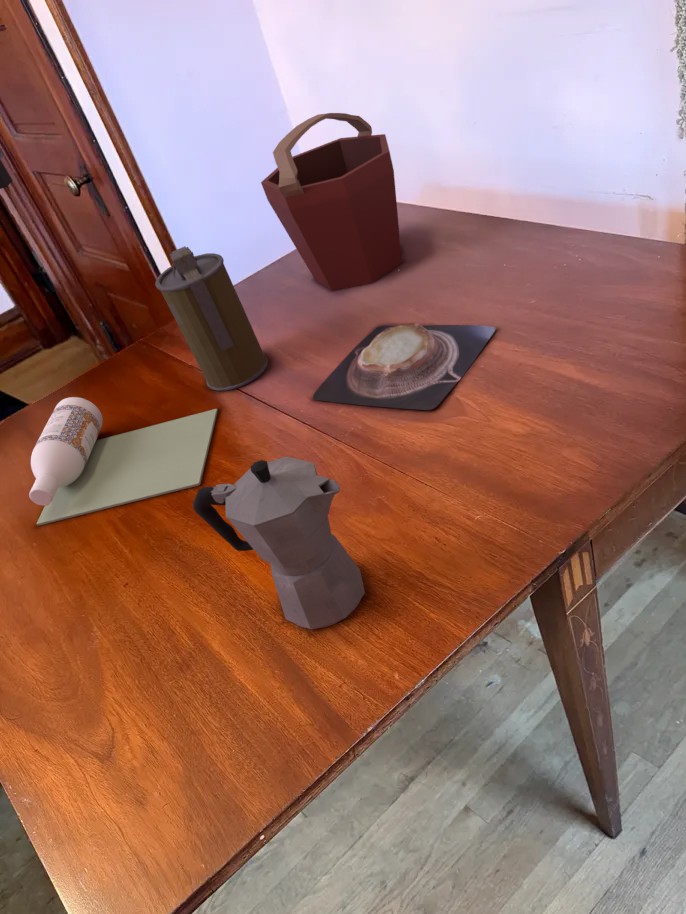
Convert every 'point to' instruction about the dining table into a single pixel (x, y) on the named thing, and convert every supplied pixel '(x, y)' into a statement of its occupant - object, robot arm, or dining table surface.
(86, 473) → the mat
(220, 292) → the canister
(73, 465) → the bath foam
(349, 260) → the bucket
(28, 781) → the dining table surface
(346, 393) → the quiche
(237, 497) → the coffeepot
